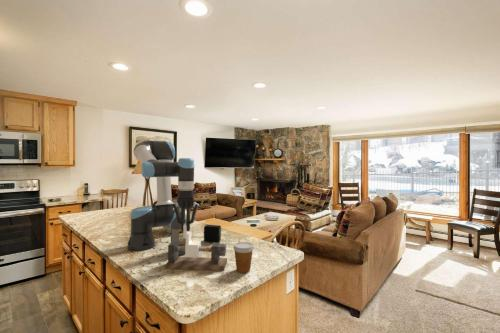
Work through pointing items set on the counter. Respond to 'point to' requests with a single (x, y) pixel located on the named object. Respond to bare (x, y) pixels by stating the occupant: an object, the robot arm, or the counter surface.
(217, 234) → the electronic device
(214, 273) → the counter surface
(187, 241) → the white l-shaped block
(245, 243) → the disposable coffee cup
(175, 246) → the rail stand
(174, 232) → the liquor
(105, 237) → the counter surface
